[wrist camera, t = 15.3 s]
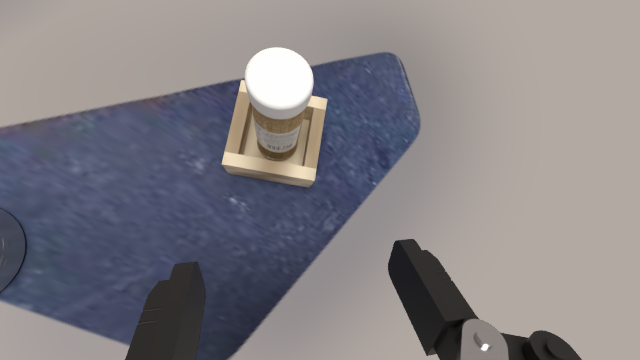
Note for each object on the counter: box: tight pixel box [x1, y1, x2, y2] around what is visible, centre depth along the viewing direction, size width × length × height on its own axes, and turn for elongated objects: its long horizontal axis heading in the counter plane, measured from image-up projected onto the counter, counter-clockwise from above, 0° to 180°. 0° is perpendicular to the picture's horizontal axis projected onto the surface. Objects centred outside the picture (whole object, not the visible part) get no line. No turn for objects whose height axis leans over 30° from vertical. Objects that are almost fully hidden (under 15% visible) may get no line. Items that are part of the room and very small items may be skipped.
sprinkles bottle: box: [245, 48, 313, 161], centre depth 24 cm, size 5×5×14 cm
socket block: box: [222, 80, 327, 188], centre depth 30 cm, size 9×9×4 cm
